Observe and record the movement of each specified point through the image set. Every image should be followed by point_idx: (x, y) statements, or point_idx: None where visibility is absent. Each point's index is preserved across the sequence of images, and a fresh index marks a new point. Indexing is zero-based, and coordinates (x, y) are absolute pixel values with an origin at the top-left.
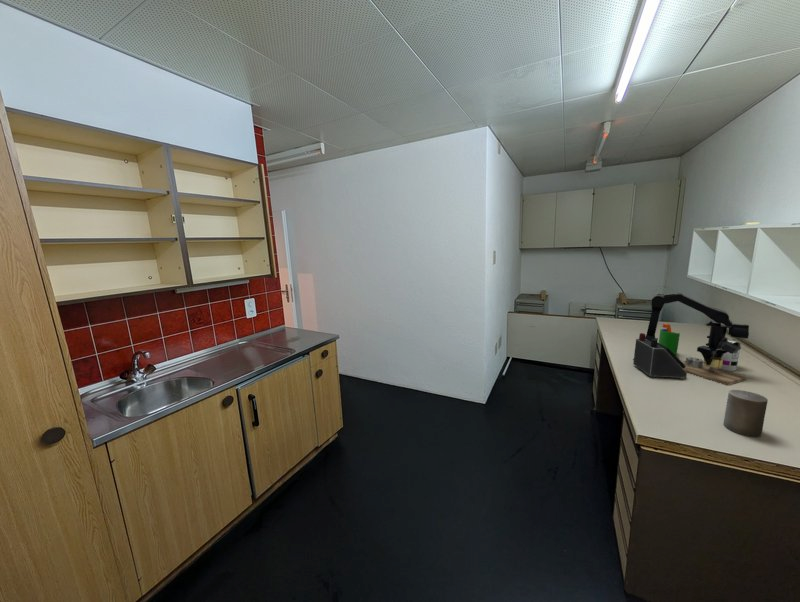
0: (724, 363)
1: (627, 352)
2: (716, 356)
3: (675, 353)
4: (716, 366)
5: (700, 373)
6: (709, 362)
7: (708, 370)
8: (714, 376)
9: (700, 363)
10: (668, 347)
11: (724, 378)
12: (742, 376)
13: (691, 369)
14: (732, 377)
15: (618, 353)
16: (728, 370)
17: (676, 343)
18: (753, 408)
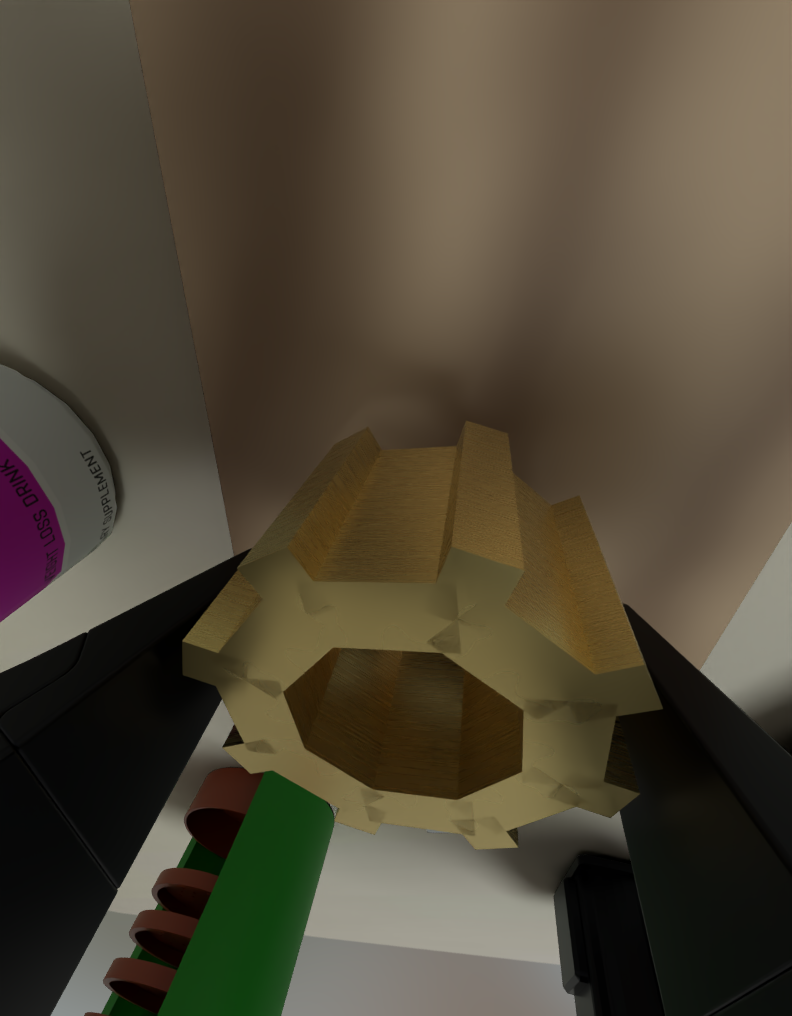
0: (20, 496)
1: (468, 931)
2: (178, 716)
3: (253, 832)
4: (523, 495)
5: (732, 549)
6: (685, 673)
7: None
8: (745, 364)
9: None
10: (281, 947)
11: (733, 186)
12: (194, 37)
13: None
14: (480, 124)
15: (553, 958)
16: (63, 405)
17: (189, 1008)
18: None
